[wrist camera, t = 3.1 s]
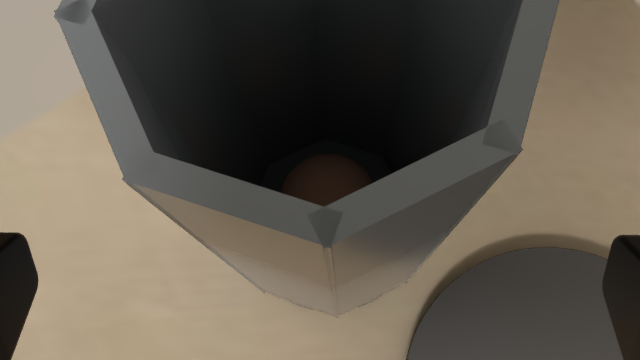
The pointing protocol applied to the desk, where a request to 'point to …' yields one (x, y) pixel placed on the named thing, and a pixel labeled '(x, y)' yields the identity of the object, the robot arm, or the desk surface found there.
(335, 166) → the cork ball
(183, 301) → the desk surface
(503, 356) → the coaster
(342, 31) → the pen cup
